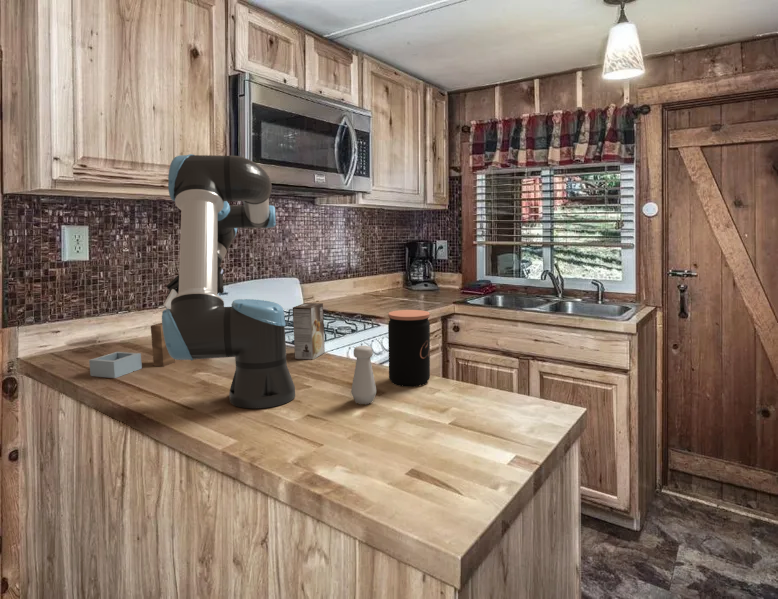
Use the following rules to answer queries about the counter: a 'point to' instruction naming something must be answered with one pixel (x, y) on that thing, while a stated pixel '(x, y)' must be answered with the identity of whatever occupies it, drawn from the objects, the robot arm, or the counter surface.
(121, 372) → the blue-grey open box
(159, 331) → the upright wooden block
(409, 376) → the coffee jar
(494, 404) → the counter surface
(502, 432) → the counter surface
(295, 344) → the coffee box
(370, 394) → the salt shaker
